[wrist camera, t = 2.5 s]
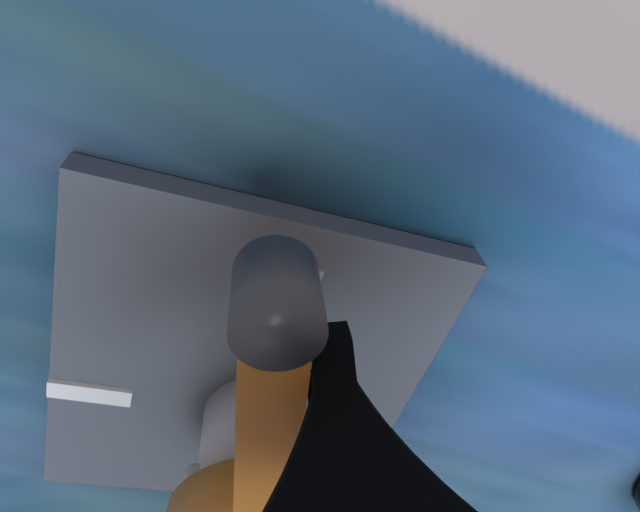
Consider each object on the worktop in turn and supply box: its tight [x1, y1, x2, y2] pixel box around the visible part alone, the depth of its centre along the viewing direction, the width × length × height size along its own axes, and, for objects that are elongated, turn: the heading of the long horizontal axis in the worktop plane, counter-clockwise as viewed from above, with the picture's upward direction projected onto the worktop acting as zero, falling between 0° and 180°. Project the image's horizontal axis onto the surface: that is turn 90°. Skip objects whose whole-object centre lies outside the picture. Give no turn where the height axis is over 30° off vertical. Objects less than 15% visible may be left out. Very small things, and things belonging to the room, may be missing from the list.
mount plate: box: [44, 152, 487, 492], centre depth 18 cm, size 15×14×5 cm
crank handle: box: [167, 235, 329, 512], centre depth 14 cm, size 14×6×3 cm, turn 174°
